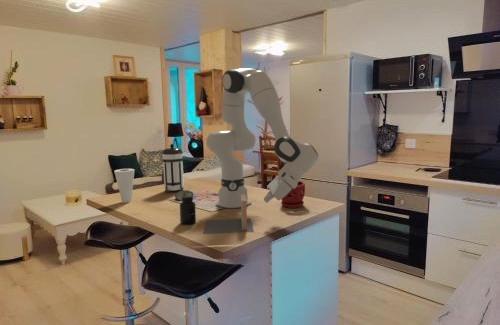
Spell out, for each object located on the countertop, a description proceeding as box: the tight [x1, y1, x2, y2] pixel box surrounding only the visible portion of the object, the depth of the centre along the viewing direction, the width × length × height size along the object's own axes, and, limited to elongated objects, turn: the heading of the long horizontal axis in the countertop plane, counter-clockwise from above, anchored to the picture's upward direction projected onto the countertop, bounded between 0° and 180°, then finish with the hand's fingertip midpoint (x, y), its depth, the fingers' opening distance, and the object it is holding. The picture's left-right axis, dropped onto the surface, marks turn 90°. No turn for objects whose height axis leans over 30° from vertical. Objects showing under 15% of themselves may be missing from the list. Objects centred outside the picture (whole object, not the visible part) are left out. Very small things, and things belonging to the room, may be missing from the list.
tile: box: [240, 194, 248, 230], centre depth 143 cm, size 12×2×12 cm, turn 3°
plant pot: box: [280, 180, 306, 209], centre depth 174 cm, size 13×13×12 cm
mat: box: [202, 217, 254, 235], centre depth 144 cm, size 18×20×1 cm
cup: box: [113, 168, 136, 204], centre depth 190 cm, size 11×11×18 cm
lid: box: [174, 189, 194, 201], centre depth 195 cm, size 11×10×5 cm
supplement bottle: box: [179, 195, 197, 226], centre depth 150 cm, size 7×7×12 cm
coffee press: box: [161, 143, 185, 194], centre depth 213 cm, size 17×16×30 cm
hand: (265, 201), depth 143 cm, fingers closed
